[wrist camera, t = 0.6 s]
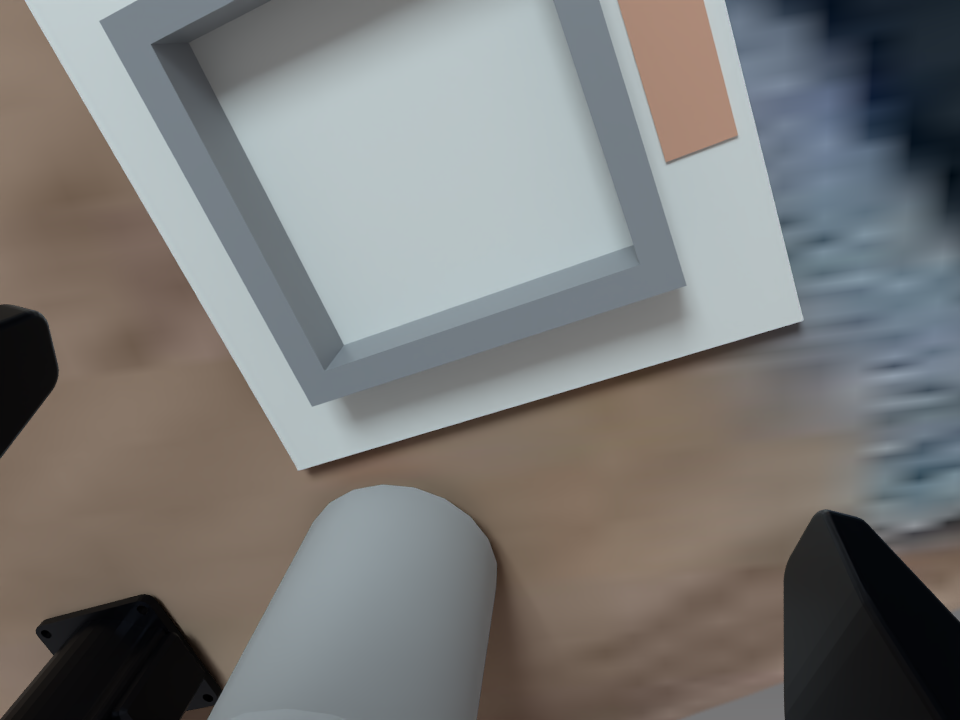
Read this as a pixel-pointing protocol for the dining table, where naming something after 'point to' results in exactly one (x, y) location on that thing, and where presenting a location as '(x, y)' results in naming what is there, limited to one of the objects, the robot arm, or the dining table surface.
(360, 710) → the can
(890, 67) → the dining table surface
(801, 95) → the dining table surface
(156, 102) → the collar plate
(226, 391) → the dining table surface
